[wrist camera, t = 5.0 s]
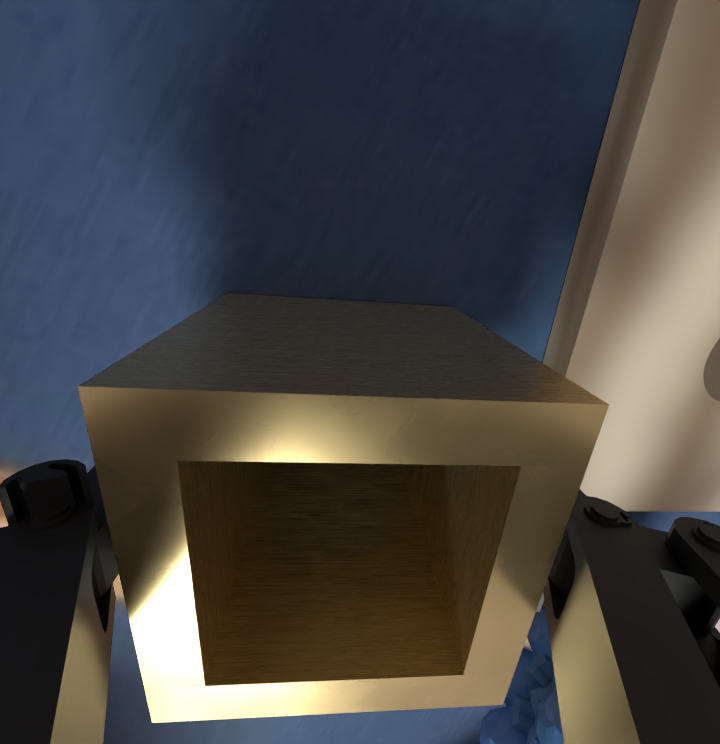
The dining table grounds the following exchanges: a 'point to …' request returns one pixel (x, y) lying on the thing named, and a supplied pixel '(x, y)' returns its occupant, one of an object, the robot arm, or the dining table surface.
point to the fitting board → (653, 271)
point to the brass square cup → (333, 504)
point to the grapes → (528, 697)
